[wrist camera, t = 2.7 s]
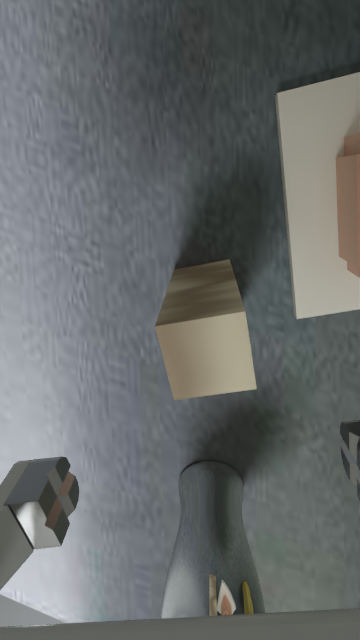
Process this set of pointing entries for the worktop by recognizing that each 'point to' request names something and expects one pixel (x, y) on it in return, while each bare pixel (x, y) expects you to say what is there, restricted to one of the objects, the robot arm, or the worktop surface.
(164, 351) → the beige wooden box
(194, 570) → the beer glass
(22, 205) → the worktop surface
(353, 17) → the worktop surface
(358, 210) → the framed base plate
